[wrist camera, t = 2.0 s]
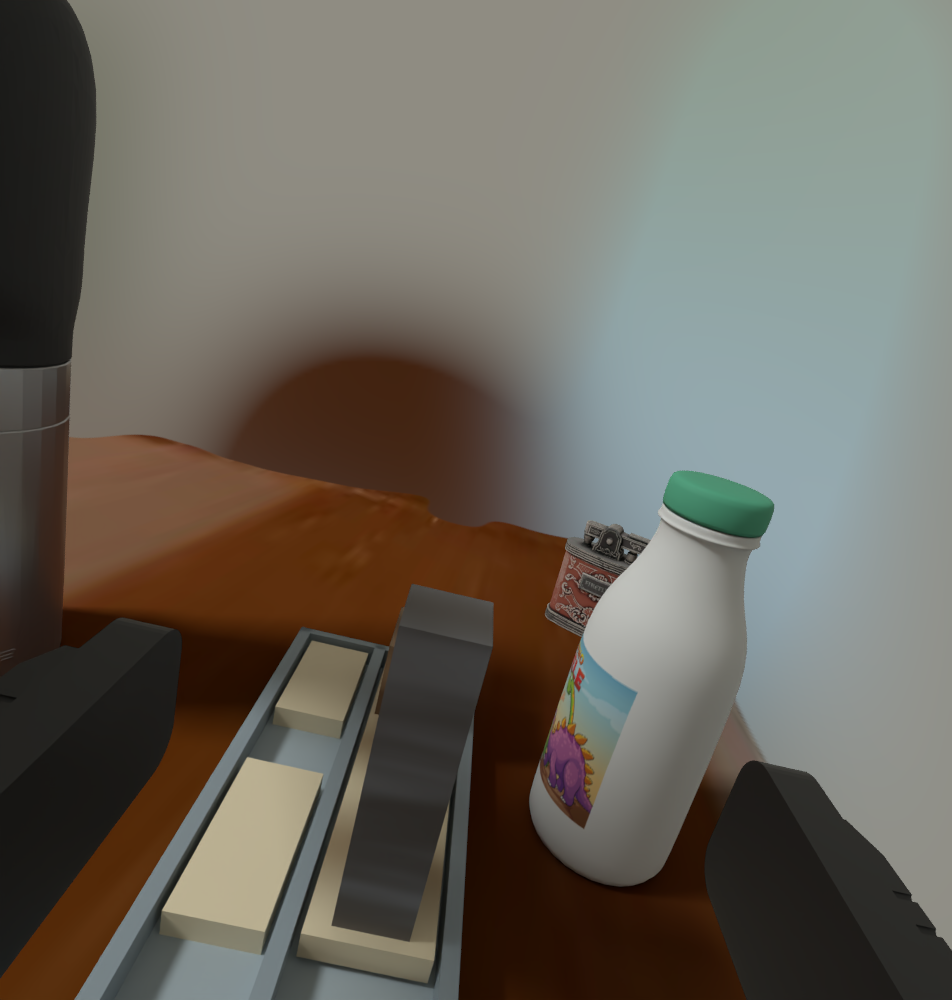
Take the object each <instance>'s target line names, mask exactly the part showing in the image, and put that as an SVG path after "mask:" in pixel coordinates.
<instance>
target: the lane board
mask: <svg viewBox="0 0 952 1000" xmlns="http://www.w3.org/2000/svg"><path fill="white" fill-rule="evenodd" d="M388 651H389V647H388V646H384V645H379V644H375V643H370V642H366V641H362V640H357V639H353V638H348V637H344V636H340V635H335V634H331V633H326V632H322V631H318V630H313V629H309V628H304V627H302V628H301V630H300V631H299V633H298V634H297V636H296V638H295V639H294V641H293V643H292V644H291V646H290V648H289V649H288V651H287V652H286V654H285V656H284V657H283V659H282V661H281V662H280V664H279V666H278V667H277V669H276V671H275V672H274V674H273V675H272V677H271V679H270V680H269V682H268V684H267V685H266V687H265V689H264V690H263V692H262V693H261V695H260V697H259V698H258V700H257V702H256V703H255V705H254V707H253V708H252V710H251V712H250V713H249V715H248V716H247V718H246V720H245V721H244V723H243V725H242V726H241V728H240V730H239V731H238V733H237V734H236V736H235V738H234V739H233V741H232V743H231V744H230V746H229V748H228V749H227V751H226V753H225V754H224V756H223V757H222V759H221V761H220V762H219V764H218V766H217V767H216V769H215V771H214V772H213V774H212V775H211V777H210V779H209V780H208V782H207V784H206V785H205V787H204V789H203V790H202V792H201V793H200V795H199V797H198V798H197V800H196V802H195V803H194V805H193V807H192V808H191V810H190V812H189V813H188V815H187V816H186V818H185V820H184V821H183V823H182V825H181V826H180V828H179V830H178V831H177V833H176V834H175V836H174V838H173V839H172V841H171V843H170V844H169V846H168V848H167V849H166V851H165V853H164V854H163V856H162V857H161V859H160V861H159V862H158V864H157V866H156V867H155V869H154V871H153V872H152V874H151V875H150V877H149V879H148V880H147V882H146V884H145V885H144V887H143V889H142V890H141V892H140V894H139V895H138V897H137V898H136V900H135V902H134V903H133V905H132V907H131V908H130V910H129V912H128V913H127V915H126V916H125V918H124V920H123V921H122V923H121V925H120V926H119V928H118V930H117V931H116V933H115V934H114V936H113V938H112V939H111V941H110V943H109V944H108V946H107V948H106V949H105V951H104V953H103V954H102V956H101V957H100V959H99V961H98V962H97V964H96V966H95V967H94V969H93V971H92V972H91V974H90V975H89V977H88V979H87V980H86V982H85V984H84V985H83V987H82V989H81V990H80V992H79V994H78V995H77V997H76V998H75V1000H458V993H459V975H460V957H461V940H462V922H463V904H464V886H465V869H466V851H467V833H468V815H469V798H470V780H471V762H472V744H473V727H474V715H473V719H472V722H471V726H470V729H469V733H468V736H467V740H466V744H465V747H464V751H463V754H462V758H461V761H460V765H459V768H458V772H457V775H456V779H455V783H454V786H453V790H452V793H451V797H450V801H449V812H448V822H447V833H446V843H445V853H444V864H443V874H442V884H441V895H440V905H439V916H438V926H437V936H436V947H435V957H434V963H433V966H432V970H431V973H430V976H429V980H428V983H423V982H418V981H413V980H408V979H403V978H398V977H394V976H389V975H384V974H379V973H374V972H369V971H364V970H360V969H355V968H350V967H345V966H340V965H335V964H330V963H326V962H321V961H316V960H311V959H306V958H301V957H296V955H297V950H298V945H299V940H300V935H301V931H302V928H303V925H304V922H305V919H306V915H307V912H308V909H309V906H310V903H311V899H312V896H313V893H314V890H315V887H316V883H317V880H318V877H319V874H320V871H321V868H322V864H323V861H324V858H325V855H326V852H327V848H328V845H329V842H330V839H331V836H332V832H333V829H334V826H335V823H336V820H337V816H338V813H339V810H340V807H341V804H342V801H343V797H344V794H345V791H346V788H347V785H348V781H349V778H350V775H351V772H352V769H353V765H354V762H355V759H356V756H357V753H358V749H359V746H360V743H361V740H362V737H363V734H364V730H365V727H366V724H367V721H368V718H369V714H370V711H371V708H372V705H373V702H374V698H375V695H376V692H377V689H378V686H379V682H380V679H381V676H382V673H383V670H384V667H385V663H386V660H387V655H388Z"/></svg>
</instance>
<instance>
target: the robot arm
mask: <svg viewBox="0 0 952 1000" xmlns="http://www.w3.org/2000/svg"><path fill="white" fill-rule="evenodd" d="M95 133H96V88H95V80H94V72H93V65H92V59H91V55H90V51H89V47H88V44H87V41H86V38H85V34H84V31H83V29H82V26H81V24H80V22H79V20H78V18H77V16H76V14H75V13H74V11H73V9H72V7H71V6H70V4H69V3H68V1H67V0H0V978H1V977H2V975H3V974H4V973H5V971H6V970H7V969H8V967H9V966H10V965H11V963H12V962H13V961H14V959H15V958H16V957H17V955H18V954H19V952H20V951H21V950H22V948H23V947H24V946H25V944H26V943H27V942H28V940H29V939H30V938H31V936H32V935H33V934H34V932H35V931H36V930H37V928H38V927H39V926H40V924H41V923H42V922H43V920H44V919H45V918H46V916H47V915H48V914H49V912H50V911H51V910H52V908H53V907H54V906H55V904H56V903H57V902H58V900H59V899H60V898H61V896H62V895H63V894H64V892H65V891H66V890H67V888H68V887H69V886H70V884H71V883H72V882H73V880H74V879H75V878H76V876H77V875H78V874H79V872H80V871H81V870H82V868H83V867H84V866H85V864H86V863H87V862H88V860H89V859H90V858H91V856H92V855H93V854H94V852H95V851H96V850H97V848H98V847H99V846H100V844H101V843H102V842H103V840H104V839H105V838H106V836H107V835H108V834H109V832H110V831H111V829H112V828H113V827H114V825H115V824H116V823H117V821H118V820H119V819H120V817H121V816H122V815H123V813H124V812H125V811H126V809H127V808H128V807H129V805H130V804H131V803H132V801H133V800H134V799H135V797H136V796H137V795H138V793H139V792H140V791H141V789H142V788H143V787H144V785H145V784H146V783H147V781H148V780H149V779H150V777H151V776H152V775H153V773H154V772H155V770H156V769H157V767H158V765H159V763H160V761H161V760H162V757H163V755H164V753H165V751H166V748H167V746H168V743H169V740H170V737H171V733H172V729H173V723H174V715H175V705H176V696H177V687H178V677H179V668H180V659H181V649H182V637H181V634H180V632H179V631H178V630H176V629H172V628H167V627H163V626H158V625H154V624H149V623H145V622H140V621H136V620H131V619H127V618H118V619H116V620H114V621H113V622H111V623H110V624H109V625H108V626H106V627H105V628H104V629H103V630H101V631H100V632H99V633H98V634H96V635H95V636H94V637H93V638H91V639H90V640H89V641H88V642H86V643H85V644H84V645H83V646H81V647H80V648H75V647H70V646H66V645H64V646H62V647H60V644H61V639H62V612H63V586H64V566H65V536H66V507H67V478H68V449H69V419H70V417H69V409H70V381H71V357H72V339H73V329H74V323H75V319H76V314H77V309H78V305H79V300H80V293H81V287H82V277H83V261H84V245H85V234H86V223H87V212H88V203H89V195H90V185H91V176H92V167H93V159H94V147H95ZM705 881H706V887H707V892H708V895H709V898H710V901H711V903H712V906H713V909H714V912H715V914H716V917H717V920H718V922H719V925H720V928H721V931H722V933H723V936H724V939H725V942H726V944H727V947H728V950H729V953H730V955H731V958H732V961H733V963H734V966H735V969H736V972H737V974H738V977H739V980H740V983H741V985H742V988H743V991H744V994H745V996H746V999H747V1000H952V950H951V949H950V948H949V946H948V945H947V943H946V942H945V941H944V939H943V938H941V937H937V936H936V932H935V931H936V928H935V927H934V925H933V924H932V923H931V921H930V920H929V918H928V917H927V916H926V914H925V913H924V911H923V910H922V909H921V908H920V906H919V904H918V903H916V902H912V900H911V893H910V892H909V890H908V889H907V888H906V886H905V885H904V883H903V882H902V881H901V879H900V878H899V876H898V875H897V874H896V872H895V871H894V870H893V868H892V867H891V866H890V864H889V863H888V861H887V860H886V858H885V857H884V856H883V855H882V854H881V853H880V852H879V851H878V850H877V849H876V848H875V847H874V846H873V845H872V844H871V843H870V842H869V841H868V840H866V839H865V838H864V837H863V836H862V835H861V834H860V833H859V832H858V831H857V830H856V829H855V828H854V827H853V826H852V825H850V823H848V822H847V821H846V820H844V819H842V817H841V815H840V814H839V812H838V811H837V810H836V808H835V807H834V805H833V804H832V802H831V801H830V800H829V798H828V796H827V795H826V794H825V792H824V791H823V789H822V788H821V787H820V785H819V784H818V782H817V781H816V779H815V778H814V777H813V776H812V775H810V774H809V773H807V772H803V771H799V770H794V769H790V768H786V767H781V766H776V765H772V764H768V763H763V762H759V761H750V762H748V763H746V764H745V765H744V766H743V768H742V769H741V771H740V773H739V775H738V777H737V779H736V781H735V784H734V786H733V788H732V790H731V793H730V795H729V797H728V800H727V802H726V804H725V806H724V809H723V811H722V813H721V815H720V818H719V820H718V822H717V824H716V827H715V829H714V831H713V834H712V836H711V838H710V840H709V843H708V846H707V850H706V856H705Z"/></svg>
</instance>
